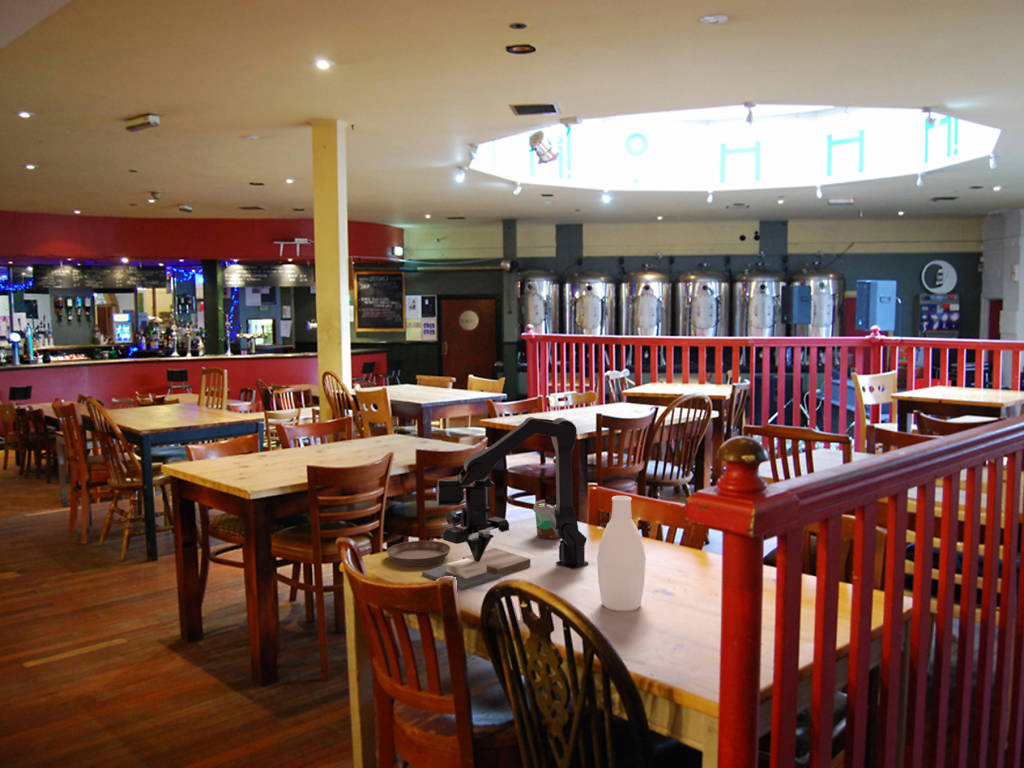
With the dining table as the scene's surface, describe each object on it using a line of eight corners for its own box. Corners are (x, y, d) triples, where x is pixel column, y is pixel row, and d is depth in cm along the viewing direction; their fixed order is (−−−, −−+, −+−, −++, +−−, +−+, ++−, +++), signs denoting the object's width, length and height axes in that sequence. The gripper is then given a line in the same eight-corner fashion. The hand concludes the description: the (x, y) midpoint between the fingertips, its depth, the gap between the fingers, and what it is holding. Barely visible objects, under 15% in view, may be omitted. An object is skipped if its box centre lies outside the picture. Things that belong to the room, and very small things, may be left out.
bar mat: (500, 577, 205) (500, 574, 205) (461, 589, 196) (461, 586, 196) (460, 563, 216) (460, 560, 216) (422, 574, 208) (422, 571, 207)
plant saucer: (378, 555, 225) (378, 545, 225) (436, 546, 234) (436, 536, 233) (399, 573, 210) (399, 562, 210) (460, 563, 218) (460, 552, 218)
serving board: (530, 566, 214) (530, 558, 214) (497, 576, 206) (497, 569, 205) (495, 555, 224) (495, 548, 224) (462, 564, 216) (462, 557, 216)
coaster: (486, 572, 207) (486, 564, 206) (466, 578, 202) (466, 571, 202) (466, 565, 212) (466, 558, 212) (446, 571, 208) (446, 563, 208)
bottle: (613, 592, 193) (613, 490, 191) (654, 603, 186) (655, 496, 184) (588, 606, 184) (587, 498, 182) (629, 617, 177) (630, 505, 175)
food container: (526, 533, 246) (526, 501, 245) (544, 530, 249) (543, 499, 248) (544, 543, 235) (544, 510, 234) (563, 540, 238) (562, 507, 237)
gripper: (482, 493, 221) (483, 547, 222) (429, 504, 208) (430, 562, 209) (510, 499, 213) (510, 556, 214) (456, 512, 200) (457, 572, 201)
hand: (477, 561), depth 210 cm, fingers closed
